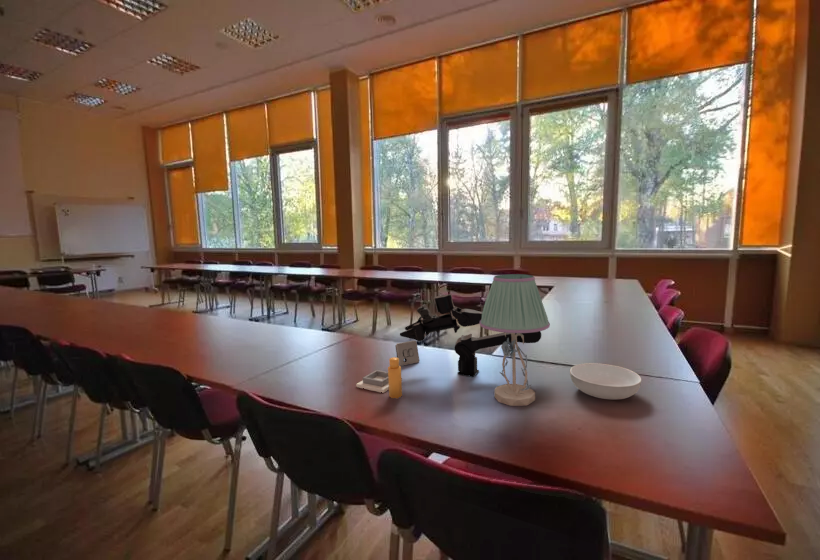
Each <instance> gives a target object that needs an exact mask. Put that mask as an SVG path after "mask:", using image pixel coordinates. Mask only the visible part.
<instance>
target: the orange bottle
mask: <svg viewBox="0 0 820 560" xmlns="http://www.w3.org/2000/svg"><path fill="white" fill-rule="evenodd" d="M388 360H389V363H388V364H389V365H388V367H387V372H388V380H389V390H388V394H389V395H388V396H389V398H390V397H391V399H394V398H396V399H400V398H401V396H403V387H402V385H403V384H402V383H403V379H402V380H401V378H402V366H400V365H399V358H397V356H395V357H394V356H393V357H389V359H388ZM399 397H400V398H399Z"/></svg>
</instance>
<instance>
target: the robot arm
mask: <svg viewBox="0 0 820 560" xmlns="http://www.w3.org/2000/svg"><path fill="white" fill-rule="evenodd" d="M433 300H434V303H435V307H436V311H437V313H439V314H441V315H438V314H433V313H432V311H431V310H430V309H429V307H428V306H427V304H425V303H423V304H422V305H421V306H419V307H418V308H417V309H416V311H417V313H418V314H419V315H420V316H419V317H418V319H417V321H415V322H413V323H411V324H409V325H408V326H407V325H406V326H405V327H404V331H402V332H400V333H399V336H400V337H403V338H406V339H412V340H413V341H416V342H422V341H424V340H425V338H426V336H429V335H430V334H432V333H437V334H438V333H440V332H441V331H445V330H446V331H447V330H449V329H453V330H454V333H455V334H456V333H457V332H458V330H459V329H460V328H461V327H463V328H465V327H472V326H475V325H476V326H477V325H480V320H481V319H482V312H483V311H480V310H479V311H478V310H475V309H470V308H460V307H458V306H455V305H454V302H453V295H452V294H451V293H449V294H441V295H438V296H435V297H433ZM516 334H517V333H515V335H516ZM521 334H522V335H524V344H535V343H538V342H539V341H540V340H541V339H542V331H538V332H532V333H521ZM508 338H509V342H510V343H511V339H512V337H511V333H506V337H505V332H499V333H494V334H489V335H485V336H479V337H476V336H475V337H474V336H473V333H469V334H466V335H465V334H464V335H463V334H462V335H461V337H458V338H457V339H456V341H455V345H454V352H455V353H456V354H457V356H459V357H458V360H457V371H458V372H457V375H460V376H461V375H462V376H466V377H467V376H468V377H475V376H476V375H477V374H478V373H479V372H480V370H479V369H478V357H477V356H476V353H477V351H479V350H481V349H482V350H483V349H486V348H493V347H498V346H502V344H503V342H505V341H506V342H507V339H508ZM517 343H522V344H523V339H522V337H521V336H520V335H518V336H517Z"/></svg>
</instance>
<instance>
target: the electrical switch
mask: <svg viewBox="0 0 820 560" xmlns="http://www.w3.org/2000/svg"><path fill="white" fill-rule="evenodd" d="M417 342H418V341H416V340H410V341H403V342H398V343H396V344H395V354H396V357H397V358H399V366H401V367H402V366H407V365H411V364H412V365H413V364H416V363H420V355H419V350H418V343H417Z"/></svg>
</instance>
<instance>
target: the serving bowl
mask: <svg viewBox="0 0 820 560" xmlns="http://www.w3.org/2000/svg"><path fill="white" fill-rule="evenodd" d="M569 375H570V379H571V382H572V383H573V384H574V386H575V388H577V389H578V390H579V391H580V392H581V393H584V394H586V395H588V396H591V397H594V398H598V399H603V400H615V401H616V400H624V399H628V398H631V397H632V396H634V395H635V394H637V392H639V390H640V387H641V384H642V380H643V379H642V377H641V376H640V375H639V374H638V373H636V372H635V371H632V370H631V369H628V368H626V367H622V366H618V365H614V364H605V363H599V362H598V363H597V362H591V363H589V362H588V363H579V364H575V365H573V366H571V368H570V369H569Z"/></svg>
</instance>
